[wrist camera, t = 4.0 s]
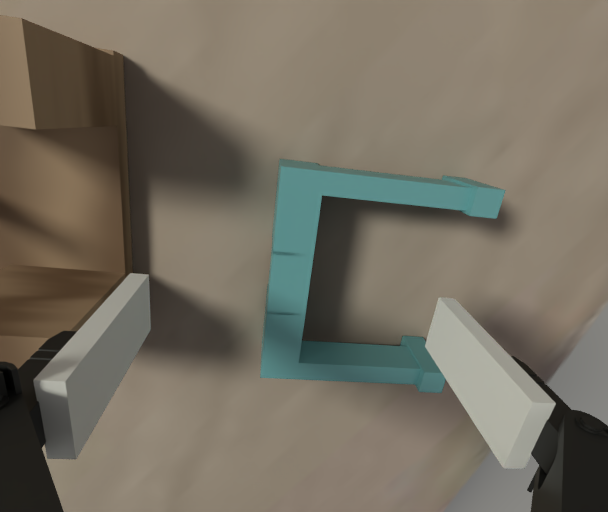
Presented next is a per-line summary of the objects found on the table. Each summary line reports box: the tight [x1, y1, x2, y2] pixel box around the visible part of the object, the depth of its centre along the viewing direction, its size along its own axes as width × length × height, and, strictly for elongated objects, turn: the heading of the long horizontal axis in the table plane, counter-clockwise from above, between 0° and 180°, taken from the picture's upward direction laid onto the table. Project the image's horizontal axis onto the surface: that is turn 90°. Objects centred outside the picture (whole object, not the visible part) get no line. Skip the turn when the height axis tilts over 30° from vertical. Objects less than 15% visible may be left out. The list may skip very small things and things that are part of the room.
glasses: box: [260, 159, 505, 393], centre depth 22 cm, size 11×13×4 cm
